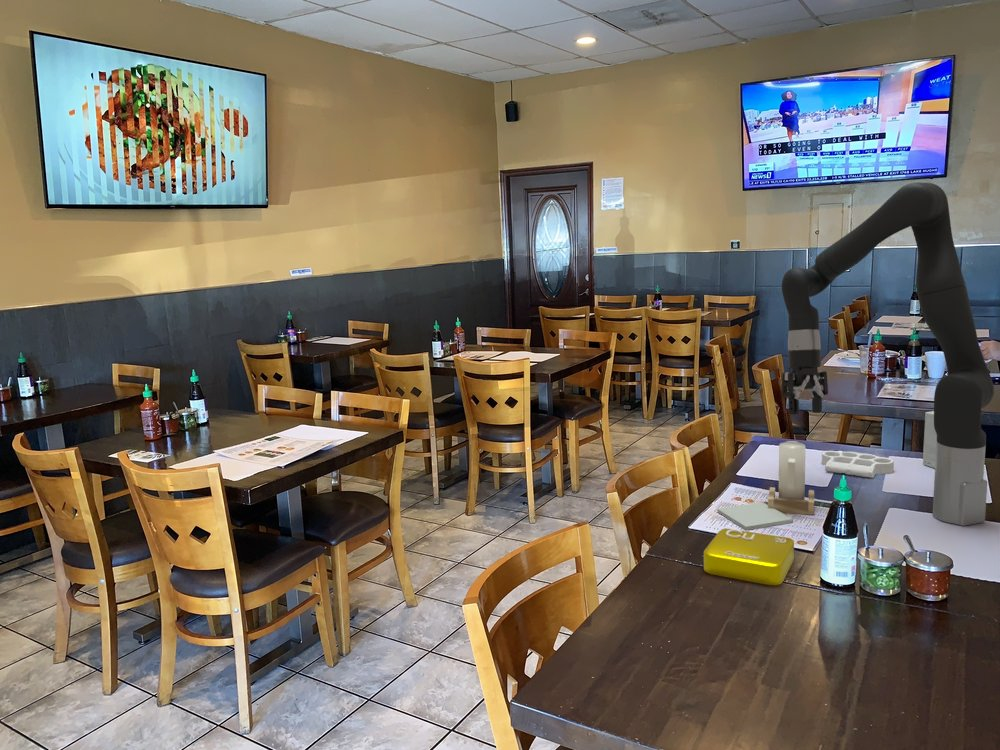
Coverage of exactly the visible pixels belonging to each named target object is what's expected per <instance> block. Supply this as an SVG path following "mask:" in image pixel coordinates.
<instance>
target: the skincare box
mask: <svg viewBox="0 0 1000 750" xmlns="http://www.w3.org/2000/svg"><path fill="white" fill-rule="evenodd" d="M924 413H925V414H924V416H925V417H924V432H923V433H924V436H923V455H922V465H923V466H926V467H927V466H928V467H930V468H932V469H935V459H936V442H937V434H936V431H935V429H934V410H932V411H926V412H924Z"/></svg>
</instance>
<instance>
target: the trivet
mask: <svg viewBox="0 0 1000 750" xmlns="http://www.w3.org/2000/svg"><path fill="white" fill-rule="evenodd" d="M717 513H719V514H720V515H721V514H722V517H725V518H726V519H728V520H729V521H730V522H732V523H734V524H735V525H738V527H740V528H742V529H744V531H748V530H749V531H750V530H755V529H762V528H767V527H773V526H778V525H786V524H790V523H791V524H792V523H793V522H794V519H793V518H792V517H791V516H789V515H787V514H785V513H784V512H779V511H778V510H776V509H774V508H768V503H765V502H764V501H759V502H758V501H757V502H752V503H751V502H750V503H747V504H740V505H739V504H738V505H733V506H727V507H720V508H717Z"/></svg>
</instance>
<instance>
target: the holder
mask: <svg viewBox="0 0 1000 750" xmlns="http://www.w3.org/2000/svg"><path fill="white" fill-rule="evenodd" d="M768 492H769V493H768V498H767V505H768V508H774V509H776V510H778V511H779V512H781V513H784V514H785V513H786V514H787V513H788V514H797V515H798V514H799V515H808V514H813V515H814V514H815V490H813V489H809V490H808V499H804V500H797V499H784V498H779V497H776V487H771V486H770V487H769V491H768ZM813 515H812V516H813Z"/></svg>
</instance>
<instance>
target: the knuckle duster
mask: <svg viewBox="0 0 1000 750" xmlns="http://www.w3.org/2000/svg"><path fill="white" fill-rule="evenodd" d="M894 463H895V461H894V460H893V458H890V457H883V456H877V455H875V454H871V453H864V452H863V453H862V452H856V451H837V450H836V451H835V450H825V451H823V452H822V453H821V464H822V465H823V466H824V465H825V469H824V470H825V471H826V472H827V473H834V474H835V473H836V474H841V473H845V474H844V475H848V476H854V475H855V476H856V477H861V476H862V477H863V478H868V477H869V478H868V479H874V478H875V477H874V476H876V475H889V474H893V473H894V467H895V464H894ZM875 474H876V475H875ZM862 477H861V478H862Z"/></svg>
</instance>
